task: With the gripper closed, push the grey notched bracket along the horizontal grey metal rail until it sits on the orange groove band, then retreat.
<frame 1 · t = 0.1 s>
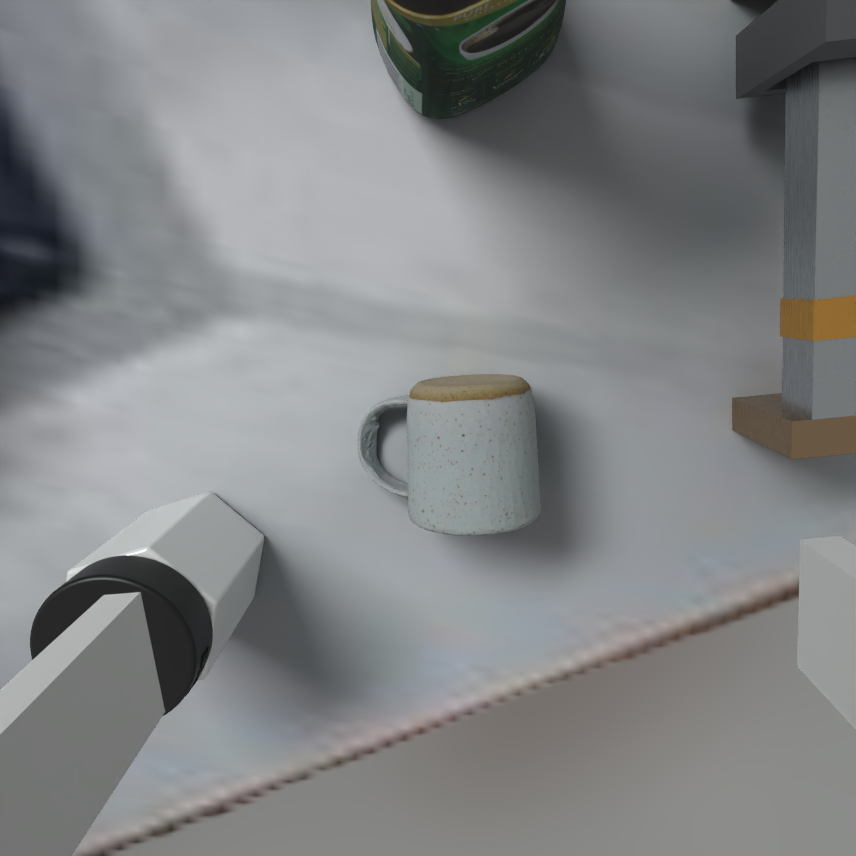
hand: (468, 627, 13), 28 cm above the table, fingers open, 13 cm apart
ceramic mug: (448, 440, 41), on the table
coffee jar: (463, 34, 36), on the table
grey notched bracket: (846, 30, 30), point 6 cm above the table, slide at 0.0 cm
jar: (203, 552, 43), on the table
pipe: (775, 206, 37), on the table
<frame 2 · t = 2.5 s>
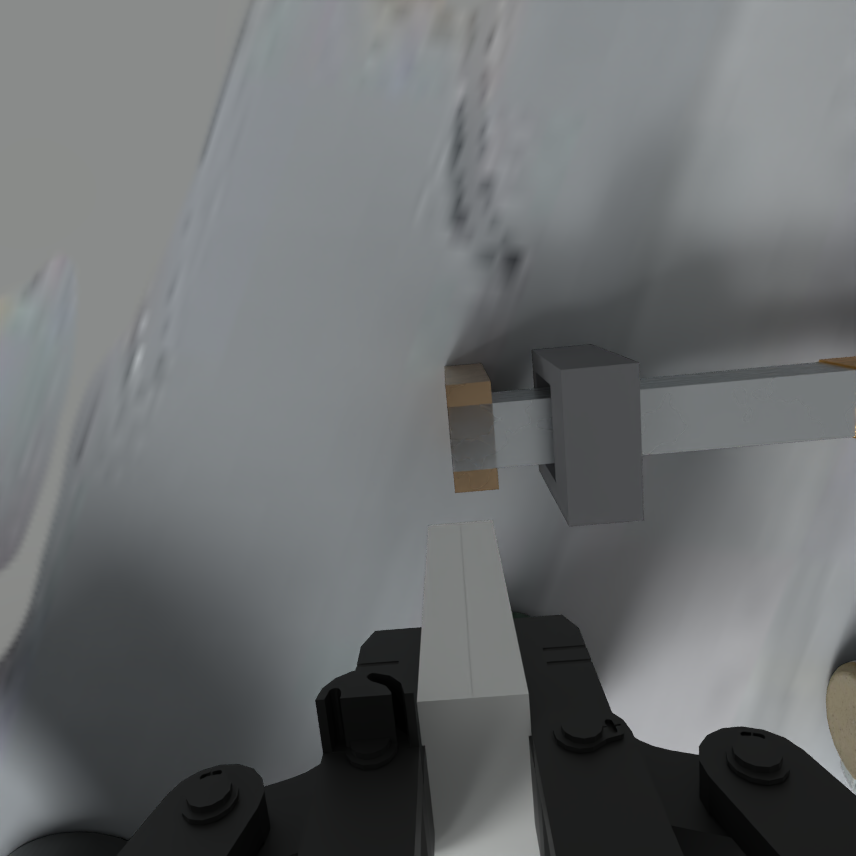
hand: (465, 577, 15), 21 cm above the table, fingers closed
grey notched bracket: (581, 425, 30), point 6 cm above the table, slide at 0.0 cm
pipe: (684, 389, 36), on the table
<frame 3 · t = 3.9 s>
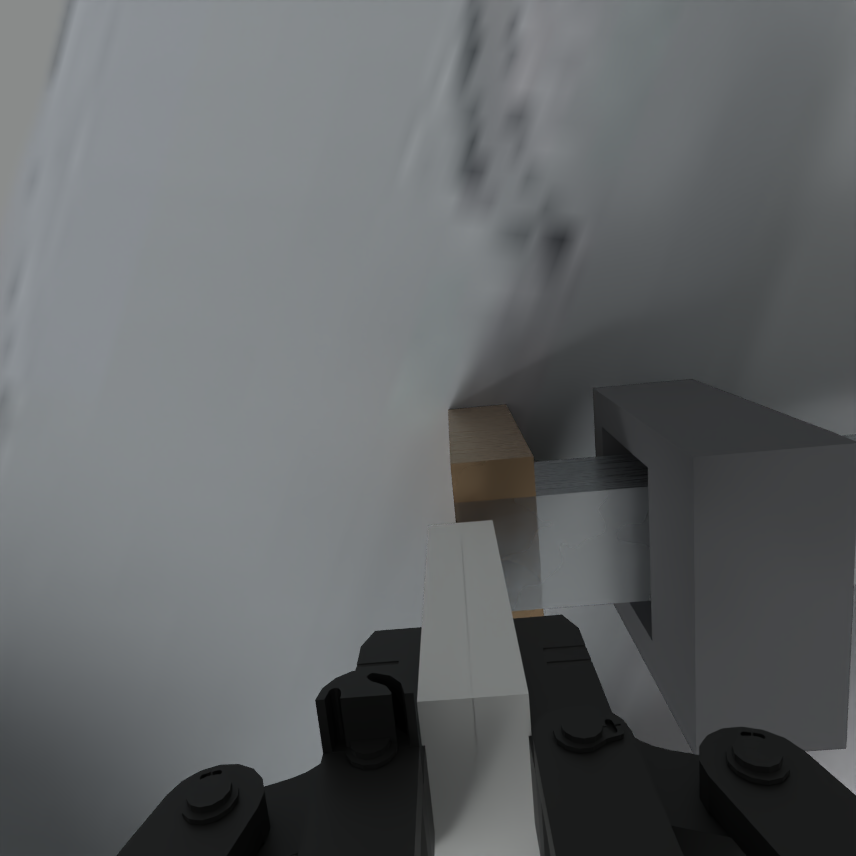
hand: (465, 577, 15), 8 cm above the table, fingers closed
grey notched bracket: (693, 531, 17), point 6 cm above the table, slide at 0.0 cm
pipe: (828, 446, 23), on the table
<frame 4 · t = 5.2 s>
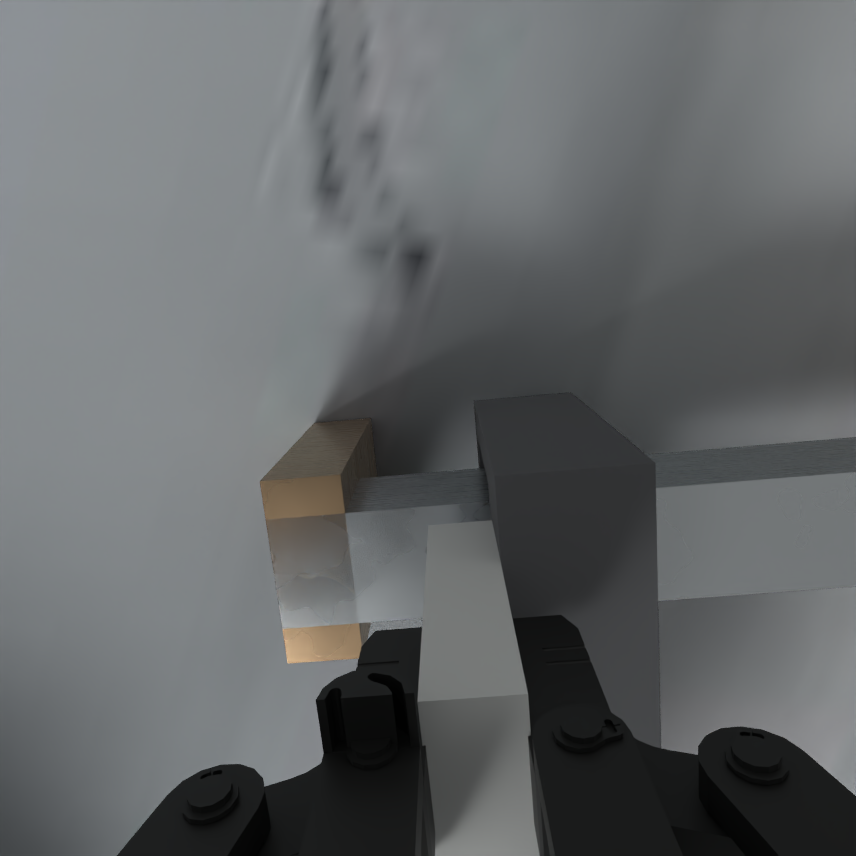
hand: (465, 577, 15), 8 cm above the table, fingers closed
grey notched bracket: (548, 544, 17), point 6 cm above the table, slide at 1.1 cm, touching gripper
pipe: (689, 460, 23), on the table
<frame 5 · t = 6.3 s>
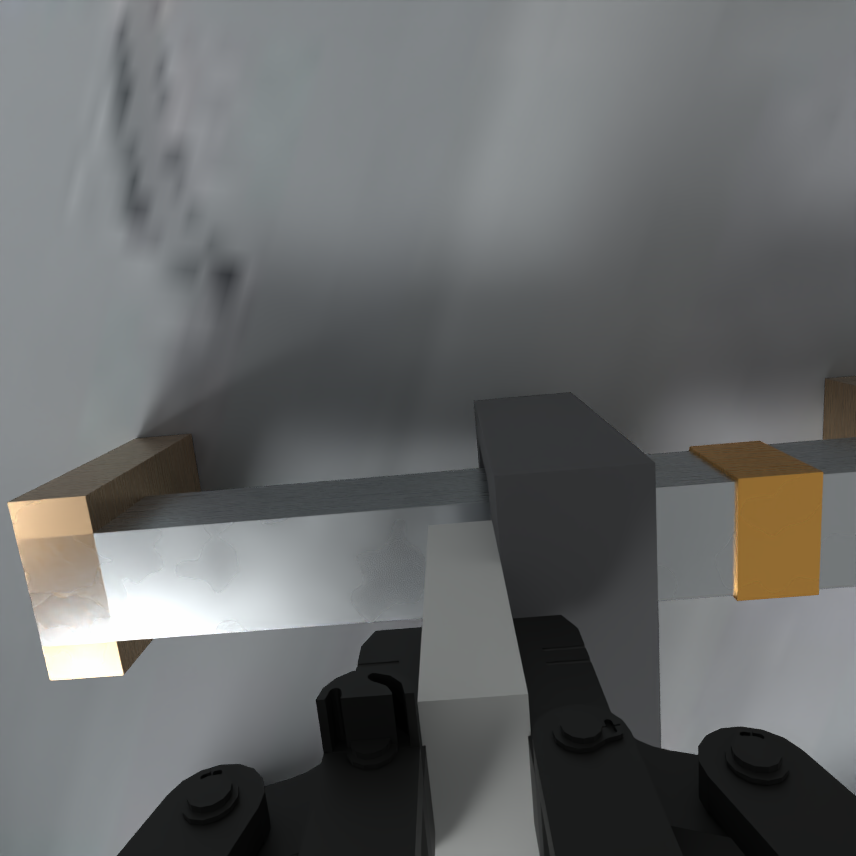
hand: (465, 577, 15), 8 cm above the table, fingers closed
grey notched bracket: (548, 544, 17), point 6 cm above the table, slide at 7.5 cm, touching gripper
pipe: (506, 475, 23), on the table
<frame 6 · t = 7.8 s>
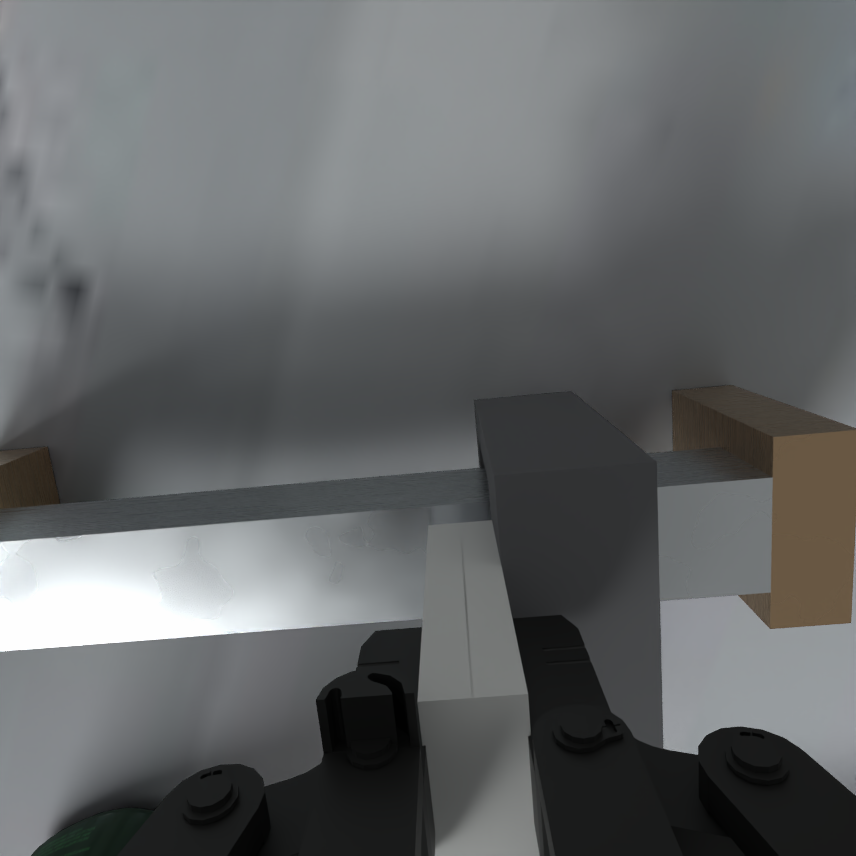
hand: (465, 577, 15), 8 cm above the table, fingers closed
grey notched bracket: (549, 544, 17), point 6 cm above the table, slide at 12.7 cm, touching gripper
pipe: (361, 487, 23), on the table
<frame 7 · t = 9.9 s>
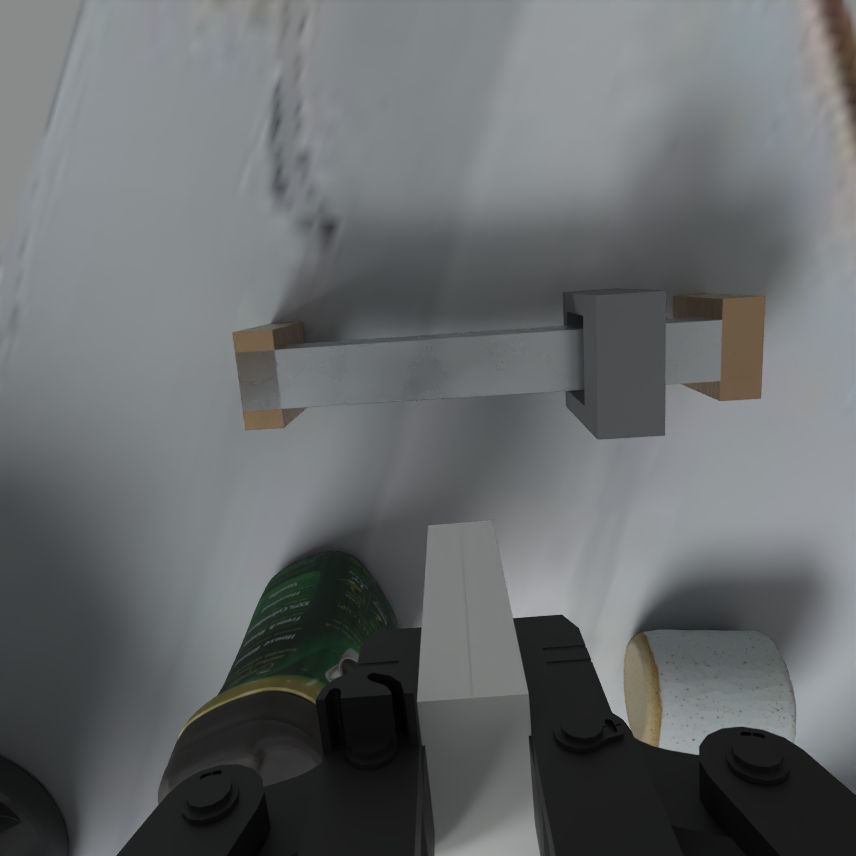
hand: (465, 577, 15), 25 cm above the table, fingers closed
ceramic mug: (682, 675, 44), on the table
coffee jar: (335, 615, 44), on the table
grey notched bracket: (608, 356, 33), point 6 cm above the table, slide at 12.7 cm
pipe: (488, 350, 39), on the table
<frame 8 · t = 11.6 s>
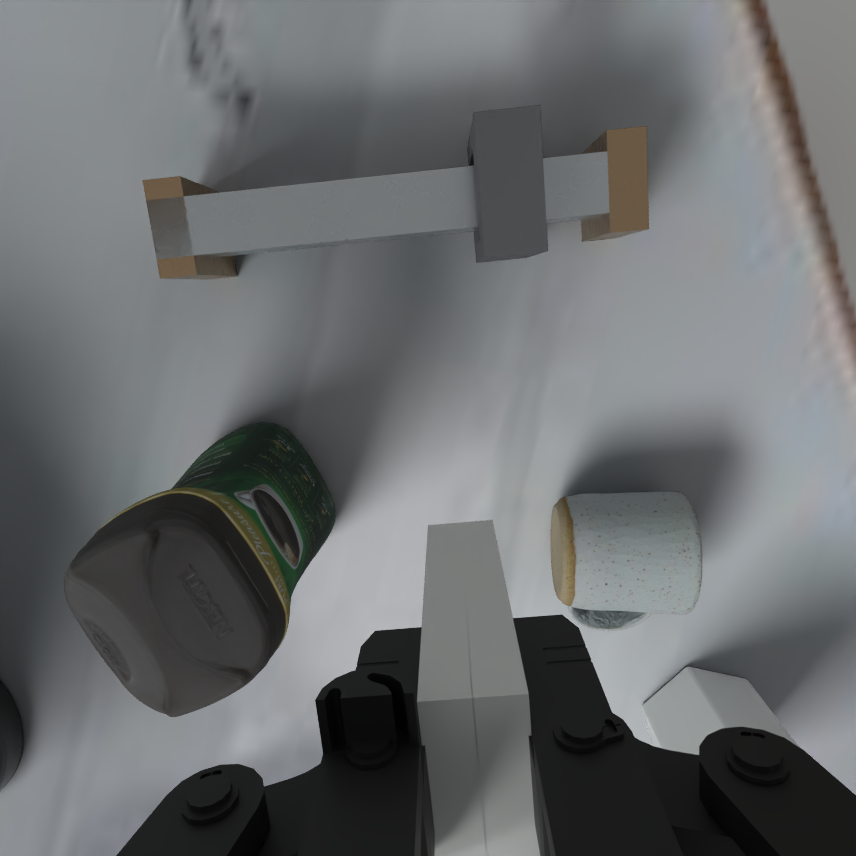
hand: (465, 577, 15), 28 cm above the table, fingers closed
ceramic mug: (608, 546, 45), on the table
coffee jar: (271, 490, 45), on the table
grey notched bracket: (503, 194, 34), point 6 cm above the table, slide at 12.7 cm
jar: (698, 715, 48), on the table
pipe: (403, 218, 41), on the table
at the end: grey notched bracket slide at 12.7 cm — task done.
